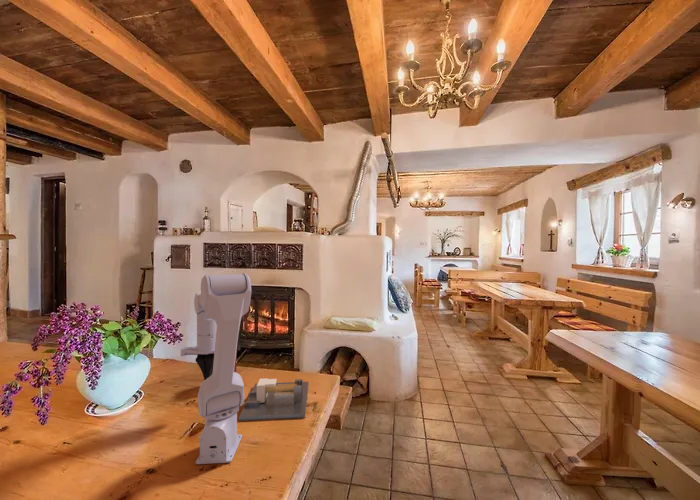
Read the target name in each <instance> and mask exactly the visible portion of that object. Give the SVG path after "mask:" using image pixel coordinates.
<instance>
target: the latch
mask: <svg viewBox="0 0 700 500" xmlns="http://www.w3.org/2000/svg"><path fill="white" fill-rule="evenodd" d="M277 379H278V378H259V380H258V382H257V383H256V384H257V401H260V403H263V402H265V400H266V398H267V395H268V392H267V393H265V390H266V387H275V385H276V383H278V382H277Z"/></svg>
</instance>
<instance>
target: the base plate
mask: <svg viewBox="0 0 700 500" xmlns="http://www.w3.org/2000/svg"><path fill="white" fill-rule="evenodd" d="M295 383H300V386H294V390H291V391H279V392H268V395H267V398H266V400H265V402H263V403H260V401H257V384H258V383H254V385H253V388H252V390H251V391H249V392H248V395H249V396H247V400H246V401H244V402H243V407H242V409H241V411H240V413H239V415H238V421H239V422H242V421H243V422H246V421H248V422H249V421H264V420H265V421H266V420H268V421H269V420H286V419H302V418H303V419H304V418H306V410H307V404H308V403H307V402H308V393H309V381H304V380H303V379H302V378H298V379H297V378H295V380H294V381H292V382H291V381H288V382H276V385H283V384H295Z"/></svg>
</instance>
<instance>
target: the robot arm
mask: <svg viewBox="0 0 700 500" xmlns="http://www.w3.org/2000/svg"><path fill="white" fill-rule="evenodd" d="M251 297H252V282H251V278H250V276H249V275H248V274H247V273H246V272H242V273H236V274H235V273H233V274H232V273H231V274H216V275H215V274H213V275H208V274H204V275H203V277H202V278H201V282H200V293H199V292H195V294H194V297H193V298H194V301H193V304H194V311H195V314H196V345H195V346H187V347H185V346H184V347H182V348H181V349H180V357H185V356H196V358H195V362H196V364H197V366H198V367H199V368H200V371H201V373H202V376H203V381H202V382H201V384H200V386H199V390H198V392H197V410H198V413H199V416H200V417H202V418H204V427H203V430H202V431H201V433H200V436H199V455H198V457H197V459H196V460H195V464H196V465H209V464H210V465H211V464H225V463H231V462H232V461H233V459H234V457H235V454H236V453H237V449H238V447H239V445H240V442H241V440H242V438H243V435H242V434H238V412H240V407H242V405H244V402H245V385H244V381H243V377H242V376H241V375H240V373H238V372H237V371H236V372H234V366H235V358H236V359H237V349H238V340H239V333H240V328H241V327H240V326H241V321H242V318H243V316H244V315H246V314H247V313H248V312H249V311H250V310H249V309H250V306H251ZM212 372H213V374H212Z"/></svg>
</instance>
